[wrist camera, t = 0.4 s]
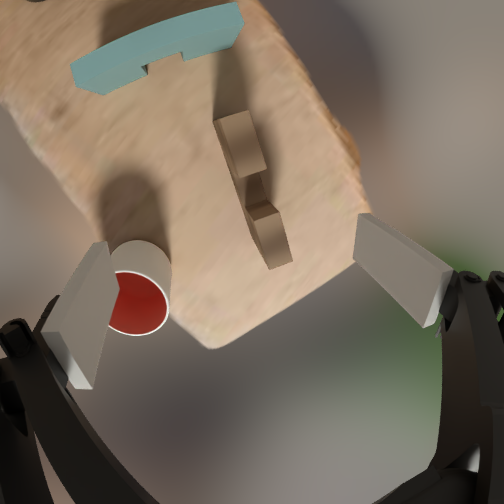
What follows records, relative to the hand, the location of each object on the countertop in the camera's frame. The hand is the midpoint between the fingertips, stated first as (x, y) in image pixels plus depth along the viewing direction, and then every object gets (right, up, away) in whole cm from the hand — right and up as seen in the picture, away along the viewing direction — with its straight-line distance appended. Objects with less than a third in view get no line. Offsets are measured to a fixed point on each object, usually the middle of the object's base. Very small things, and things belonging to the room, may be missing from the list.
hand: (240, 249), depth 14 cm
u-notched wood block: (-1, +10, +24) cm, 26 cm away
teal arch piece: (-11, +25, +15) cm, 31 cm away
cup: (-16, -2, +27) cm, 32 cm away
